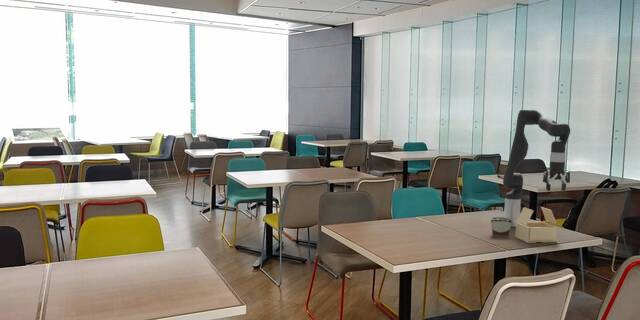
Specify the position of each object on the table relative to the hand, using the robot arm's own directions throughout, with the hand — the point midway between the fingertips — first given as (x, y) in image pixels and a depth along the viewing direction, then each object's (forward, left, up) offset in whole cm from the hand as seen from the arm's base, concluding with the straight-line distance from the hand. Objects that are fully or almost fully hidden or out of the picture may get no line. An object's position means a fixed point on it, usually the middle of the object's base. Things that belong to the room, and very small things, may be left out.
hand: (555, 190), depth 281 cm
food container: (-22, -20, -30) cm, 42 cm away
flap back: (-10, +5, -20) cm, 23 cm away
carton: (-10, -4, -29) cm, 31 cm away
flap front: (-10, -13, -20) cm, 26 cm away
